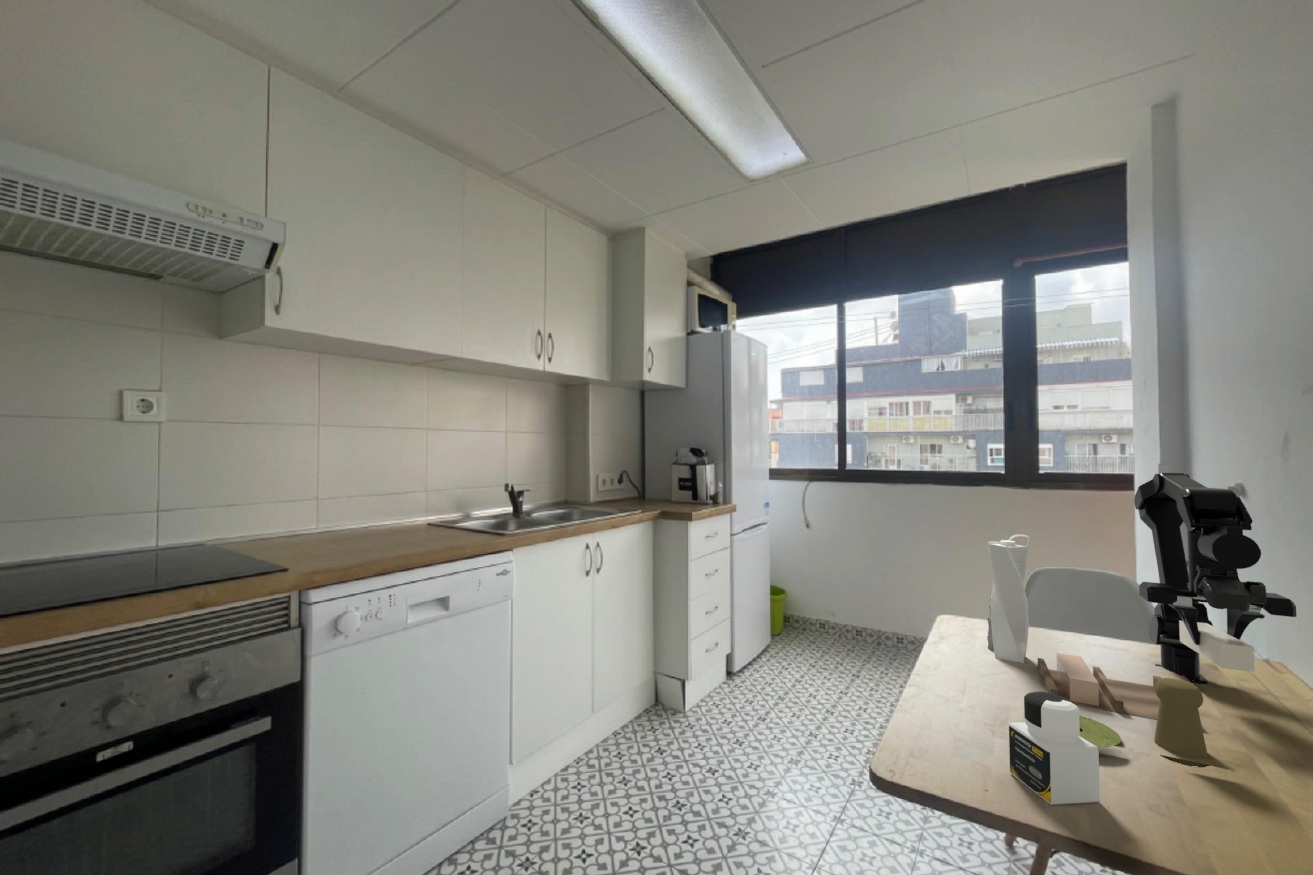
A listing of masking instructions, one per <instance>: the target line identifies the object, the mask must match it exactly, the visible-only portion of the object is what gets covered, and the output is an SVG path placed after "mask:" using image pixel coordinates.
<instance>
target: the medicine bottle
mask: <svg viewBox="0 0 1313 875" xmlns="http://www.w3.org/2000/svg"><path fill="white" fill-rule="evenodd" d="M1023 709H1024V710H1023V711H1024V712H1023V713H1024V714H1023V716H1024V721H1023V722H1010V723H1009V724H1008V741H1009V743H1008V746H1009V747H1008V748H1009V749H1008V750H1009V752H1008V753H1009V773H1010V774H1011V775H1012V776H1014V778H1016V779H1017V780H1018V781H1020V783H1022V784H1023V785H1025V787H1027V788H1029V789H1030V790H1031V791H1033V793H1034V794H1036V795H1037V796H1039V797H1040V798H1041V799H1042V800H1043V801H1045V803H1047V804H1049V805H1050V806H1054V805H1072V804H1074V805H1075V804H1089V803H1091V804H1092V803H1100V801H1101V798H1100V796H1101V795H1100V792H1101V790H1100V788H1101V787H1100V764H1099V762H1100V757H1099V747H1098V746H1095V745H1093V744H1092V743H1090V742H1088V741H1087V740H1085V739H1083V738H1082V737H1080V726H1079V715H1080V708H1079V706H1078V705H1075V704H1074V703H1073V702H1072V701H1070V700H1068V699H1066V698H1064V697H1062V696H1059V695H1056V694H1053V693H1048V692H1047V691H1032V692H1028V693H1026V694H1025V695H1024V697H1023Z"/></svg>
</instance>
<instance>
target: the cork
mask: <svg viewBox="0 0 1313 875" xmlns="http://www.w3.org/2000/svg"><path fill="white" fill-rule="evenodd" d="M1161 678H1162V677H1161ZM1155 692H1156V694H1157V697H1158V698H1159V699H1160V704H1159V711H1158V718H1157V720H1156V725H1155V726H1156V727H1155V732H1154V740H1153V741H1154V743H1155V745H1157V746H1158V747H1159V748H1161V749H1163V750H1165V751H1166V752H1169V753H1173V754H1174V755H1177V756H1181V757H1185V758H1189V759H1190V758H1191V759H1198V760H1199V759H1200V760H1201V759H1207V757H1208V750H1207V749H1208V748H1207V744H1206V741H1205V740H1206V739H1205V736H1204V732H1203V731H1204V730H1203V725H1202V721H1201V716H1200V712H1199V711H1200V710H1199V708H1201V707H1202V706H1203V703H1204V696H1203V693H1202V692H1201V690H1200V689H1199V687H1198V686H1196V685H1194V684H1193V683H1191V682H1188V681H1185V680H1181V679H1177V678H1171V677H1163V678H1162V679H1159V680H1158V681H1157V682H1156V684H1155ZM1159 756H1160V757H1161V758H1162V757H1163V758H1164V759H1166V760H1168V761H1171V762H1173V763H1176V762H1177V763H1176V764H1179V763H1180V765H1184V766H1186V765H1187V767H1192V766H1198V767H1197V768H1203V767H1204V768H1207V767H1206V766H1208V767H1209V766H1210V764H1207V763H1201V762H1197V761H1192V760H1188V759H1182V758H1178V757H1173V756H1169V755H1168V756H1167V755H1163V754H1159Z"/></svg>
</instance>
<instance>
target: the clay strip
mask: <svg viewBox="0 0 1313 875" xmlns="http://www.w3.org/2000/svg"><path fill="white" fill-rule="evenodd" d="M1197 625H1198V631H1199V645H1196V644H1194V642H1193V640H1192V638H1191V636H1190V634H1189V632H1188V630H1187V628H1186V626H1185V624H1184V622H1183V621H1179V629H1180V642H1181V643H1183V644H1185V645H1186V646H1188V647H1189V648H1191V649H1193V650H1194V651H1196V652H1197V653H1199V656H1202V657H1204V658H1205V659H1207V660H1208V661H1210V662H1211V663H1213V664H1214V665H1216V666H1218V667H1220V668H1222V669H1226V670H1227V669H1228V670H1235V671H1243V672H1244V671H1245V672H1252V673H1255V669H1256V668H1255V649H1254V648H1255V647H1253V646H1252V645H1250V644H1248V643H1246V642H1244V641H1243V640H1241V639H1240V640H1238V639H1236V638H1234V637H1233V636H1231V635H1229V634H1227V632H1225V631H1223V630H1221V629H1219V628H1218V627H1216V626H1214V625H1213V626H1211V625H1209V624H1207V623H1199V622H1197Z"/></svg>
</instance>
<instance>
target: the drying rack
mask: <svg viewBox="0 0 1313 875" xmlns="http://www.w3.org/2000/svg"><path fill="white" fill-rule="evenodd" d="M1037 670H1038V672H1039V674H1040V677H1041V679H1042V681H1043V684H1044V687H1045V689H1046V692H1048V693H1053V694H1056V695H1059V696H1062V697H1064V698H1066V699H1068V700H1070V699H1069V697H1068V695H1067V693H1066V691H1065V689H1064V686H1063V684H1062V682H1061V680H1060V678H1059V676H1058V674H1057V669H1049V668H1048V666H1047V663H1046V661H1045V658H1041V657H1037ZM1092 674H1093V675H1094V677H1095V678H1096V680H1097V682H1098V690H1099V706H1096V705H1091V704H1085V703H1080V702H1074V701H1072V702H1073V703H1074V704H1075V705H1076V706H1077V707H1084V708H1089V709H1095V710H1100V711H1105V712H1112V713H1117V714H1122V715H1126V716H1127V715H1128V716H1131V717H1132V716H1133V717H1138V718H1144V719H1149V720H1154V721H1155V720H1156V721H1157V718H1158V711H1159V704H1160V699H1159V698H1158V697H1157V694H1156V692H1155V684H1156V682H1157V681H1158V680H1159V679H1162V677H1161V676H1158V675H1152V683H1153V684H1152V685H1149V684H1148V685H1147V684H1142V683H1135V682H1130V681H1124V680H1117V679H1112V678H1108V677H1107V676H1106V675H1105V673H1104V672H1103V670H1102V669H1101V667H1099V666H1093V665H1092Z"/></svg>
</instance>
